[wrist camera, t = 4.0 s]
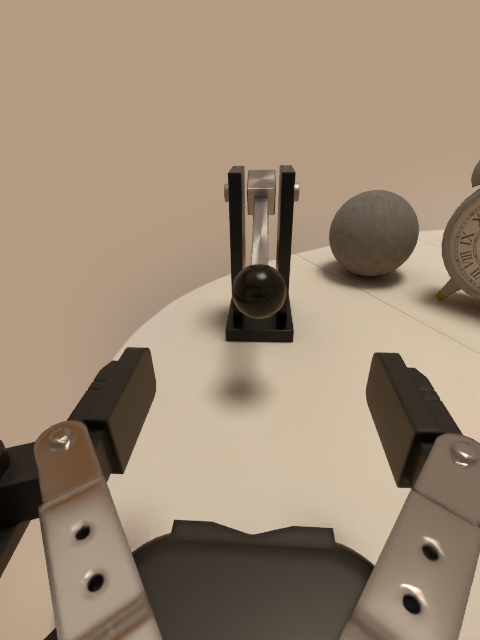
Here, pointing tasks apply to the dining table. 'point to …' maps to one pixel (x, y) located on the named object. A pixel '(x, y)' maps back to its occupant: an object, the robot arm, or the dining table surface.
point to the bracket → (281, 321)
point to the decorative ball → (374, 233)
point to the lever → (259, 254)
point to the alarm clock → (463, 246)
